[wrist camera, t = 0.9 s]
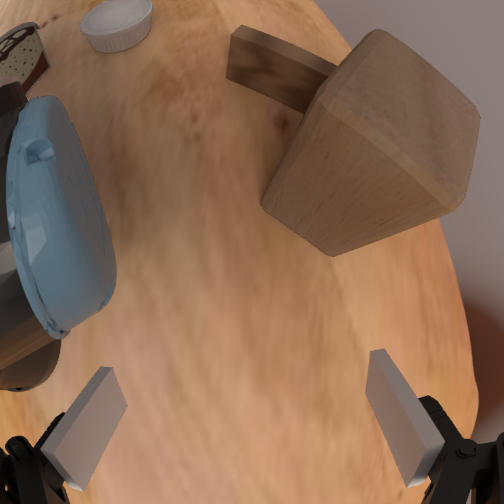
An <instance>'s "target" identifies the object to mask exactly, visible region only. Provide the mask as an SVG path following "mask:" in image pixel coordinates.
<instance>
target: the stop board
mask: <svg viewBox="0 0 504 504" xmlns="http://www.w3.org/2000/svg"><path fill="white" fill-rule="evenodd" d="M337 67H338V66H336V65H334V64H332V63H330V62H328V61H326V60H325V59H323V58H321V57H319V56H316V55H314V54H312V53H310V52H308V51H306V50H304V49H302V48H299V47H297V46H295V45H293V44H290V43H288V42H286V41H283V40H281V39H279V38H276V37H274V36H271V35H269V34H266V33H263V32H261V31H258V30H255V29H253V28H250V27H247V26H244V25H241V26H240V27H239V28H238V29H237V30H235V31H234V32H233V33H232V34H231V39H230V48H229V57H228V66H227V76H226V78H227V79H229V80H232V81H234V82H236V83H239V84H241V85H244V86H246V87H248V88H251V89H253V90H255V91H257V92H260V93H262V94H264V95H266V96H268V97H270V98H273V99H275V100H277V101H279V102H281V103H283V104H285V105H287V106H289V107H291V108H293V109H295V110H297V111H299V112H301V113H303V114H305V113H306V111H307V109H308V107H309V106H310V104H311V102H312V100H313V98H314V96H315V94H316V92H317V90H318V88H319V87H320V86H321V85H322V84H323V83H324V81H325V80H326V79H327V78H328V77H329V76H330V75H331V73H332V72H333V71H334V70H335V69H336V68H337Z"/></svg>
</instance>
